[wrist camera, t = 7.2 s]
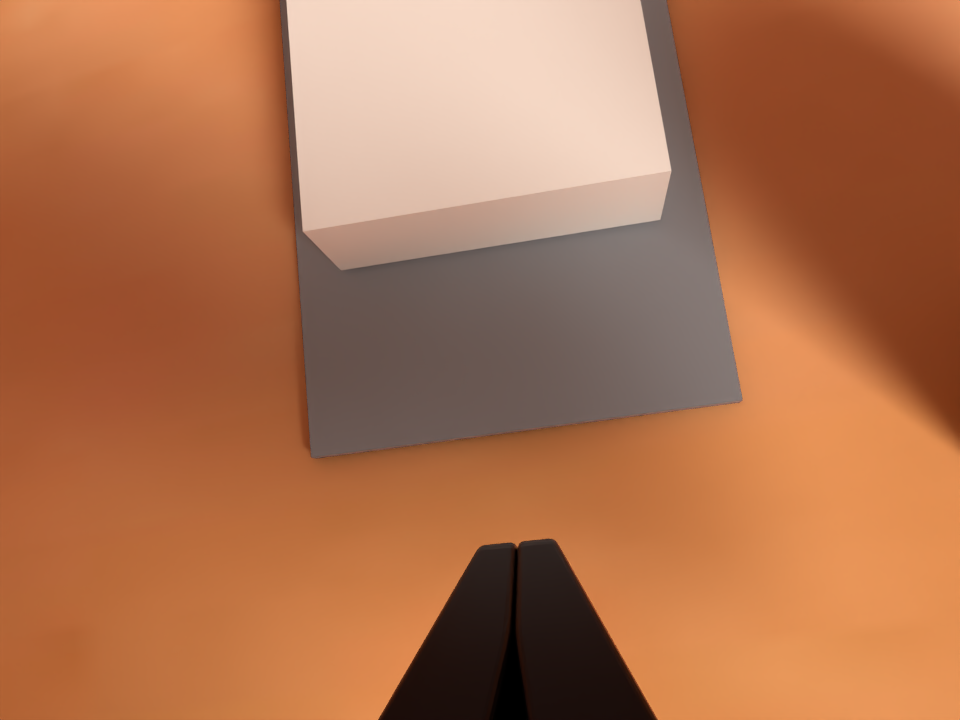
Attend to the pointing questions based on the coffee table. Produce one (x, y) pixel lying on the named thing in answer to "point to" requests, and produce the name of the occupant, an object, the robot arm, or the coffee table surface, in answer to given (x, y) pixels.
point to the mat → (521, 317)
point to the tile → (471, 123)
